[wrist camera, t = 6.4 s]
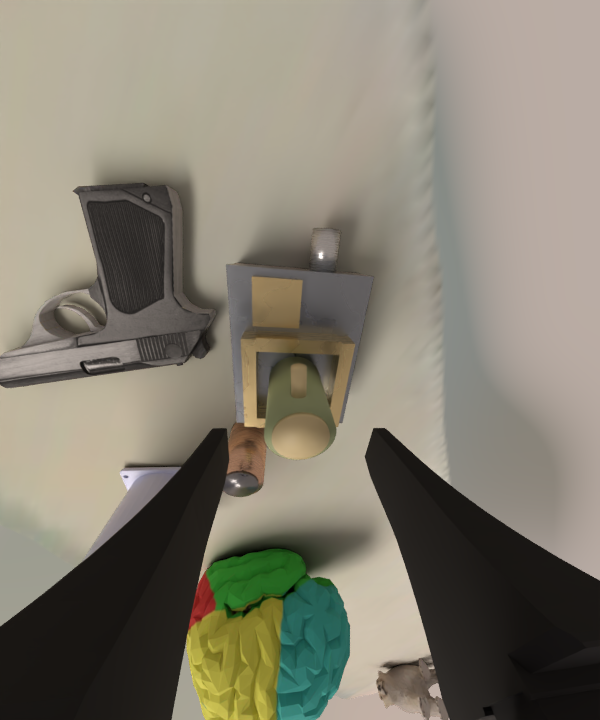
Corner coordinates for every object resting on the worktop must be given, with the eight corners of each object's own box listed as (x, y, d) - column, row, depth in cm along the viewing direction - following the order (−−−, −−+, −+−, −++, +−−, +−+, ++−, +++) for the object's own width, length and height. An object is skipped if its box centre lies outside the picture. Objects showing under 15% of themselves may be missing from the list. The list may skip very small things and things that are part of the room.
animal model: (446, 765, 58) (391, 767, 63) (455, 697, 77) (412, 702, 82) (413, 677, 68) (367, 684, 73) (428, 635, 87) (391, 644, 92)
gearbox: (333, 398, 22) (347, 436, 17) (243, 397, 21) (233, 436, 16) (362, 237, 15) (396, 229, 11) (235, 224, 14) (214, 209, 10)
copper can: (268, 444, 24) (263, 498, 18) (233, 444, 23) (218, 500, 18) (267, 418, 22) (262, 470, 17) (230, 418, 22) (213, 471, 16)
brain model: (331, 526, 32) (359, 725, 18) (344, 578, 40) (370, 739, 27) (183, 546, 33) (108, 745, 20) (226, 592, 42) (194, 752, 28)
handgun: (-96, 220, 13) (33, 380, 19) (-154, 214, 12) (7, 393, 17) (181, 186, 14) (229, 352, 19) (166, 175, 12) (224, 362, 17)
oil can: (318, 398, 17) (335, 461, 12) (271, 400, 17) (266, 466, 11) (320, 334, 15) (343, 379, 9) (265, 336, 14) (257, 383, 9)
